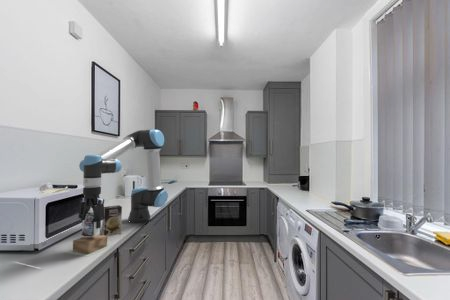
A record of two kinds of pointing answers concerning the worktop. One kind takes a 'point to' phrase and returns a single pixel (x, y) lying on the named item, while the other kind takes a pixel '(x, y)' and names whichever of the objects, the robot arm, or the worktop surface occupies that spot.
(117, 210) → the coffee box
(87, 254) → the build pad
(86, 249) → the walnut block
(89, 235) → the beverage can
